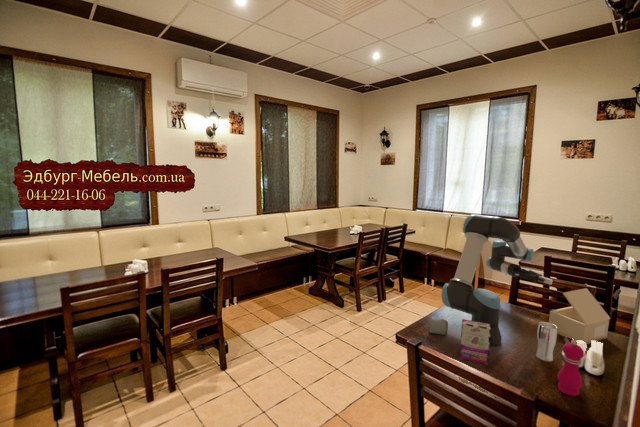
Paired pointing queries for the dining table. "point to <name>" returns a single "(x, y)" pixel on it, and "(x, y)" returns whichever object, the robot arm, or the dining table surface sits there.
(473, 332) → the candy bar box
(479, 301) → the robot arm
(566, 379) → the pepper mill
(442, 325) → the grey rounded block
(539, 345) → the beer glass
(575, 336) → the carton
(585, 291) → the carton lid
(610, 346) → the dining table surface
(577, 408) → the dining table surface
